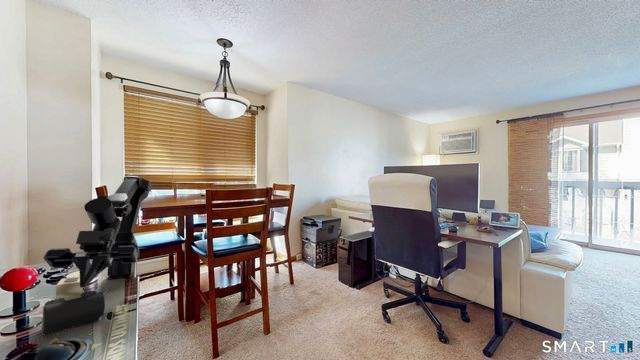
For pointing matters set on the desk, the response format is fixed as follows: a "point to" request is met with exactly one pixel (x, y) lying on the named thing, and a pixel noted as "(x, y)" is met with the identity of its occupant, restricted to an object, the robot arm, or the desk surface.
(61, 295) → the beech block
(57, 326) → the end cap
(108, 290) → the desk surface
